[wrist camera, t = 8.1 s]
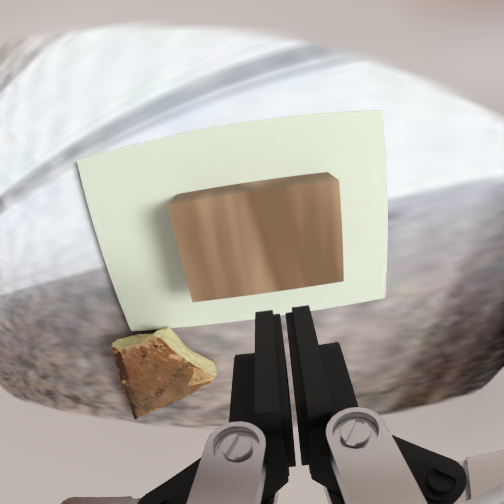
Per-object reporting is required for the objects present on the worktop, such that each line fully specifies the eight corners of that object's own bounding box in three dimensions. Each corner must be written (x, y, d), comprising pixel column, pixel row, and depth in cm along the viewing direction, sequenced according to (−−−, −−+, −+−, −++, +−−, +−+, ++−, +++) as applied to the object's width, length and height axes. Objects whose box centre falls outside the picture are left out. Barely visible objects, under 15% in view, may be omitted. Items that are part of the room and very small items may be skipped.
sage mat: (378, 110, 17) (381, 110, 17) (382, 293, 23) (384, 298, 22) (81, 159, 18) (76, 160, 18) (133, 326, 24) (131, 331, 23)
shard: (137, 407, 28) (134, 422, 26) (74, 365, 24) (68, 380, 23) (220, 366, 25) (220, 383, 24) (150, 309, 22) (146, 326, 20)
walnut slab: (338, 180, 16) (167, 205, 17) (343, 281, 19) (192, 302, 19) (327, 171, 18) (177, 194, 19) (333, 262, 21) (198, 282, 21)
